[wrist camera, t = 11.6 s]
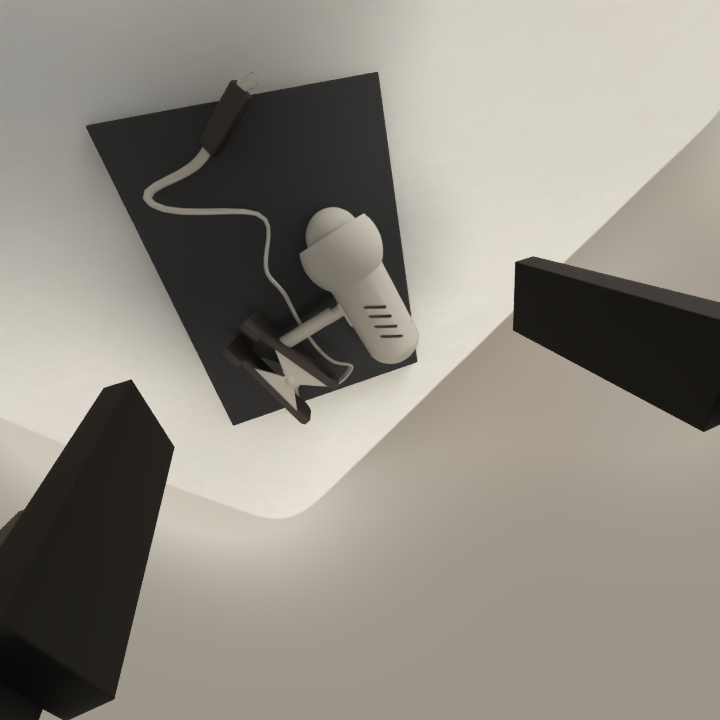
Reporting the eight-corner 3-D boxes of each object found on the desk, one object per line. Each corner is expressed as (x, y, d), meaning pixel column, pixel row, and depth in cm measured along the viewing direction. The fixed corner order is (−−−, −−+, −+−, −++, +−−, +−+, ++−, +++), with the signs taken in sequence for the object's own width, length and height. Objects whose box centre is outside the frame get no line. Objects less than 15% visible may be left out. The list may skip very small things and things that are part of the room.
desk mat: (89, 127, 18) (84, 125, 17) (375, 74, 21) (378, 71, 20) (233, 421, 28) (233, 426, 27) (414, 359, 30) (417, 362, 30)
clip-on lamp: (131, 189, 21) (295, 410, 27) (57, 166, 15) (287, 457, 21) (292, 82, 21) (426, 333, 26) (280, 14, 15) (457, 358, 20)
